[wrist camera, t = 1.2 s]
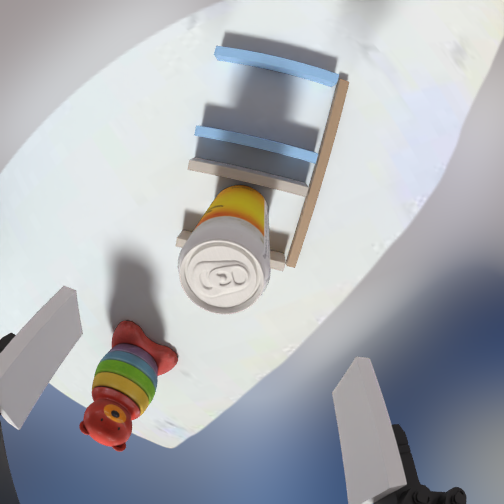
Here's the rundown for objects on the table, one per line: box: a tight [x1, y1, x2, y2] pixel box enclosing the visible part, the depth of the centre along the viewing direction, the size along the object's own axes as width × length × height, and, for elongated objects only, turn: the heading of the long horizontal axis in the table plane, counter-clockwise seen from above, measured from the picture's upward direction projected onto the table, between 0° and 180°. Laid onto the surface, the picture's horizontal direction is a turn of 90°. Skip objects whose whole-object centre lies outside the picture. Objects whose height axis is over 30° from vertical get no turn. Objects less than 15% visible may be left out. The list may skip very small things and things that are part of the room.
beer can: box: [178, 185, 270, 314], centre depth 24 cm, size 6×6×15 cm
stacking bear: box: [80, 321, 178, 451], centre depth 33 cm, size 11×10×18 cm
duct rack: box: [176, 46, 349, 271], centre depth 27 cm, size 14×22×2 cm, turn 167°
